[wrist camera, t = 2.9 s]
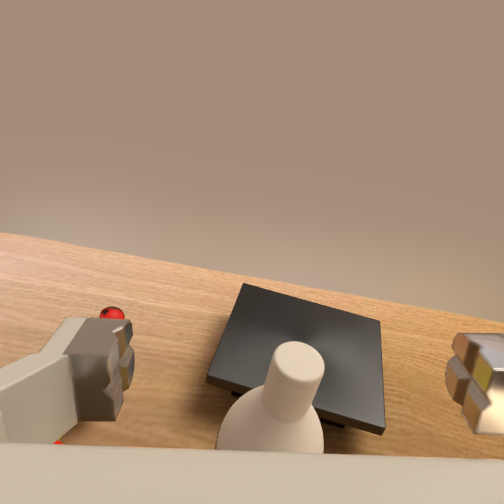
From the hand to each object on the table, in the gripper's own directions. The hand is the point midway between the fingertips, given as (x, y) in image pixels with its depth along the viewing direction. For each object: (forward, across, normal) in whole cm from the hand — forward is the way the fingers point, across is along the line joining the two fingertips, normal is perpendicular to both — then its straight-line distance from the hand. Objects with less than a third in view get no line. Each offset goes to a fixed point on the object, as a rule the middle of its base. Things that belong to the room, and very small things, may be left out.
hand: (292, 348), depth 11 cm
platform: (+30, -5, +25) cm, 40 cm away
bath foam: (+14, +1, +28) cm, 31 cm away
